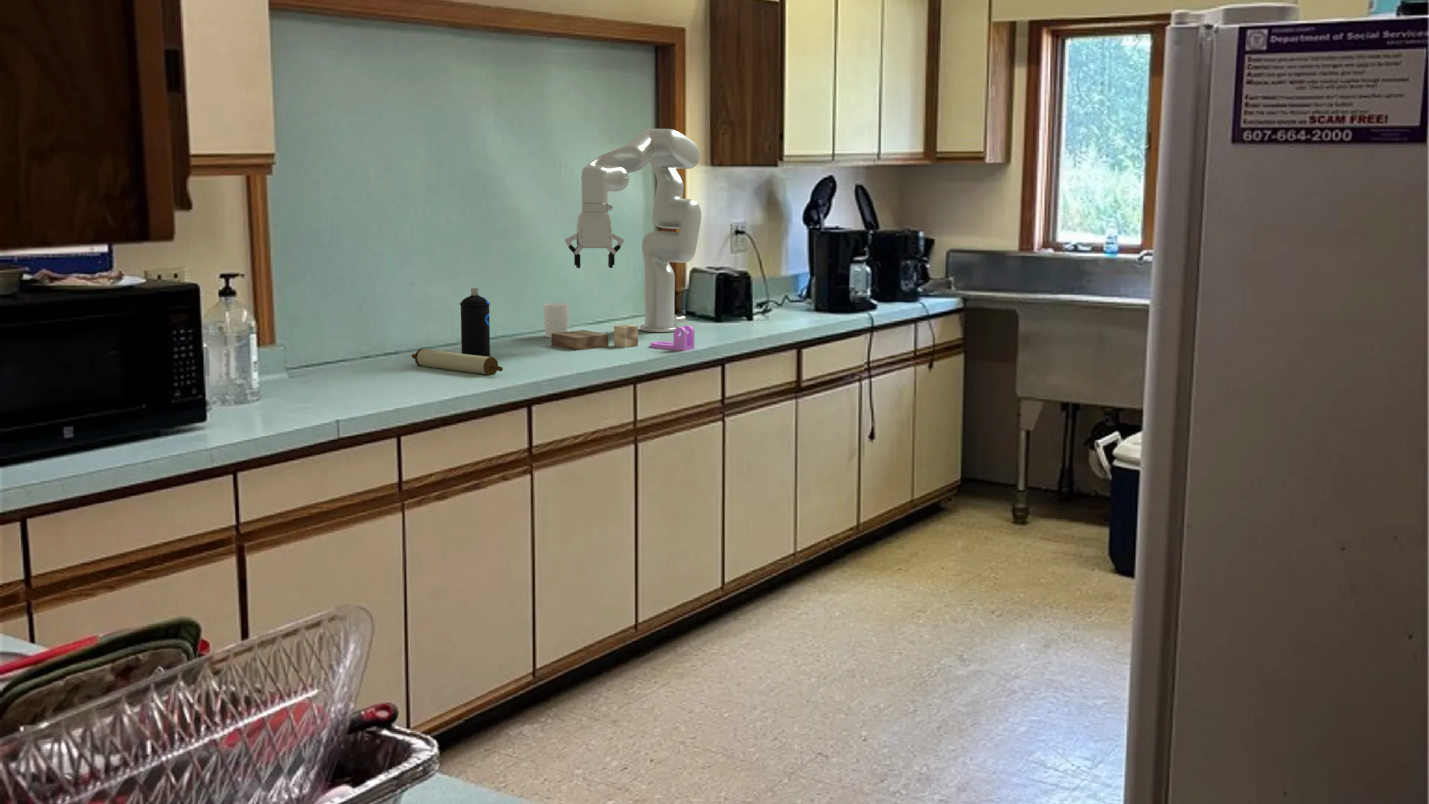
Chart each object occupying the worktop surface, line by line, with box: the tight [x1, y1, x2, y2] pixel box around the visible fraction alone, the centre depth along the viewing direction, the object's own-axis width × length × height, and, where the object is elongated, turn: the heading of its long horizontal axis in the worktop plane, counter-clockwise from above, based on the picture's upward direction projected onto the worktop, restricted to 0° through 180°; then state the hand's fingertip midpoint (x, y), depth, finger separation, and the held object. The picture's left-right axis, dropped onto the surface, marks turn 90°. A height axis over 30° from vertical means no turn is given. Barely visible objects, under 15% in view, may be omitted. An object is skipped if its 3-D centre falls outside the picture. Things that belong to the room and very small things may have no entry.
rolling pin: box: [411, 347, 503, 377], centre depth 360 cm, size 32×6×5 cm, turn 57°
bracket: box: [650, 325, 695, 352], centre depth 404 cm, size 13×6×7 cm, turn 60°
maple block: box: [613, 324, 639, 349], centre depth 407 cm, size 5×5×6 cm
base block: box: [550, 329, 610, 351], centre depth 406 cm, size 12×12×4 cm
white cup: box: [542, 302, 570, 339], centre depth 423 cm, size 8×8×10 cm
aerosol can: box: [459, 287, 491, 357], centre depth 375 cm, size 8×8×20 cm
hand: (594, 267), depth 404 cm, fingers open, 9 cm apart
